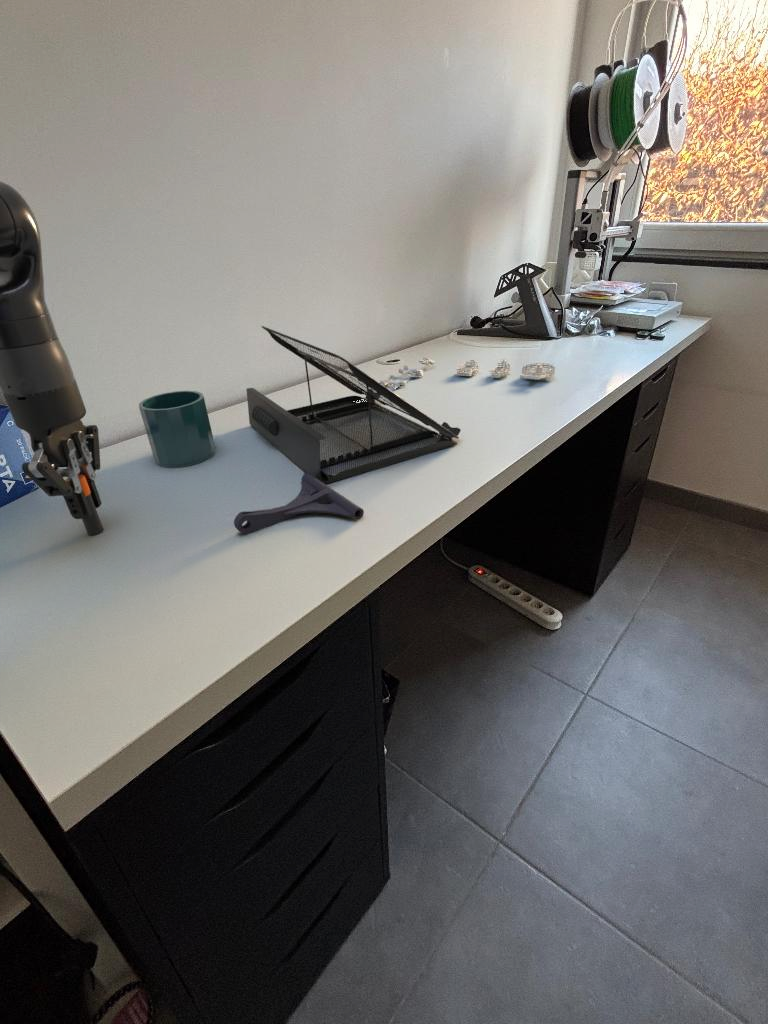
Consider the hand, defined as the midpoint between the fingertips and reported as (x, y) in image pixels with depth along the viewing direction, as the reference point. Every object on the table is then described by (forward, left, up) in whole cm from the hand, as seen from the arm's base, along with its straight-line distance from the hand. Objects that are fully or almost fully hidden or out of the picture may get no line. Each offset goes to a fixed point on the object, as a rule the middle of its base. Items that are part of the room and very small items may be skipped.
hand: (88, 511), depth 70 cm
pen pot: (+4, +25, -3) cm, 26 cm away
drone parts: (+58, +60, -3) cm, 84 cm away
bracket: (+26, +2, -3) cm, 26 cm away
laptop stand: (+32, +31, -3) cm, 45 cm away
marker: (0, 0, -3) cm, 3 cm away
